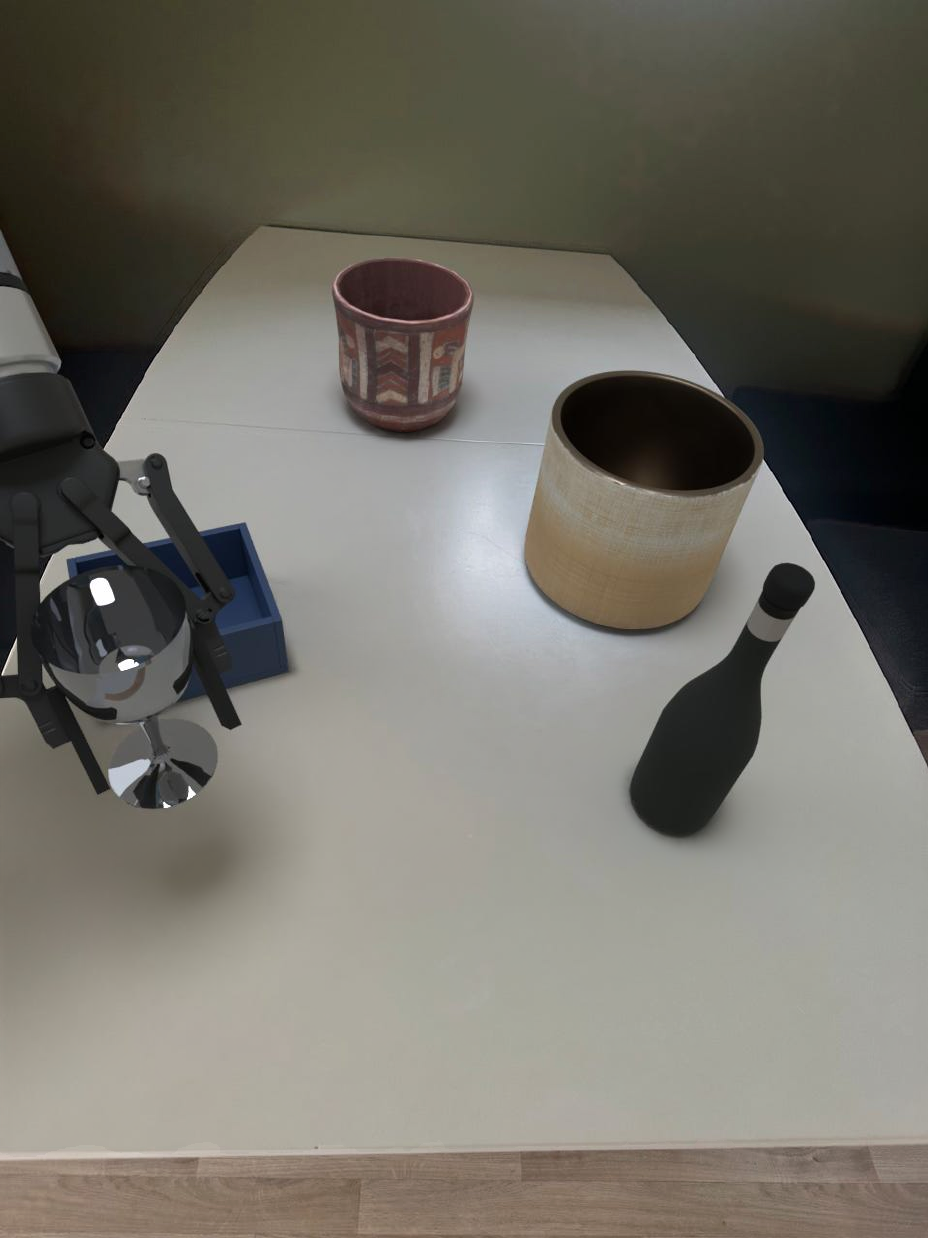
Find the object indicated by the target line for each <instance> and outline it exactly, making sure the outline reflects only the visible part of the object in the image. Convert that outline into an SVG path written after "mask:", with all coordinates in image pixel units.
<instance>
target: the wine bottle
mask: <svg viewBox="0 0 928 1238" xmlns="http://www.w3.org/2000/svg"><path fill="white" fill-rule="evenodd" d="M815 589H816V581H815V578H814V576H813V575H812V573H811V572H810V571H809V570H807V569H806V568H805V567H803V566H801V565H798V564H796V563H791V562H781V563H777V564H775V565H774V566H773V567H772V568H771V569H770V571H768V574H767V576H766V578H765V580H764V582H763V584H762V591H761V593H760V594H759V597H758V598H757V601H756V602H755V605H754V606H753V608H752V610H751V612H750V614H749V616H748V618H747V620H746V623H745V624H744V626H743V627H742V630H741V632H740V634H739V635H738V638H736V639H737V640H736V642H735V643H734V645H733V646H732V648H731V650H730V651H729V653H728V654H727V655H726V656H725V657H724V658H723V659H722V660H721V661H719V662H718V663H717V664H716V665H714V666H712V667H711V668H709V669H707V670H706V671H704V672H702V673H700V674H699V675H697V676H696V677H694V678H693V679H690V680H689V681H688V682H686V683H685V684H684V685H683V686H682V687H681V688H680V689H679V690H678V691H677V692H676V693H675V694H674V695H673V696H672V697H671V699H670V700H669V701H668V702H667V704H666V705H665V706H664V707H663V709H662V711H661V713H660V714H659V717H658V720H657V722H656V723H655V726H654V728H653V730H652V732H651V734H650V736H649V739H648V741H647V743H646V745H645V746H644V749H643V751H642V754H641V755H640V757H639V758H640V759H639V760H638V762H637V764H636V766H635V768H634V772H633V775H632V778H631V782H630V792H631V799H632V801H633V803H634V806H635V807H636V810H637V811H638V813H639V814H640V815H641V816H642V817H643V818H644V819H645V820H646V821H647V822H648V823H649V824H650V825H652V826H654V827H656V828H657V829H659V830H661V831H663V832H666V833H672V834H676V835H681V834H691V833H695V832H696V831H698V830H701V829H702V828H704V827H705V826H707V825H708V823H710V821H711V819H712V818H713V817H714V815H715V814H716V812H717V811H718V810H719V808H720V807H721V806H722V804H723V803H724V801H725V799H726V798H727V796H728V795H729V793H731V790H732V789H733V787H734V786H735V784H736V782H737V781H738V780H739V778H740V777H741V775H742V773H743V772H744V770H745V769H746V767H747V766H748V765H749V763H750V761H751V760H752V758H753V757H754V755H755V752H756V750H757V746H758V743H759V739H760V733H761V727H762V717H763V716H762V714H763V712H762V711H763V710H762V679H763V676H764V674H765V673H764V672H765V670H766V667H767V665H768V663H769V662H770V659H771V658H772V655H773V654H774V653H775V651H776V649H777V648H778V646H779V644H780V642H781V641H782V639H783V638H784V636H785V635H786V633H787V631H788V630H789V628H790V627H791V625H792V622H793V621H794V619H795V618H796V616H797V615H798V613H799V611H800V609H801V608H804V607H805V605H806V604H807V603H808V601H809V600H810V598H811V597H812V595H813V593H814V591H815Z"/></svg>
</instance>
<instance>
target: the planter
mask: <svg viewBox="0 0 928 1238" xmlns="http://www.w3.org/2000/svg"><path fill="white" fill-rule="evenodd" d="M764 455H765V449H764V443H763V439H762V436H761V434H760V432H759V430H758V428H757V426H756V425H755V424H754V422H753V421H752V419H750V418H749V416H748V415H747V414H746V413H745V412H744V411H743V410H742V409H740V407H738V406H737V405H735V404H734V403H733V402H732V401H730V400H729V399H728V398H726V397H724V396H723V395H722V394H721V395H720V394H719V393H718V392H715V391H713V390H712V389H710V388H708V387H706V386H703V385H701V384H698V383H696V382H693V381H691V380H688V379H685V378H682V377H678V376H675V375H670V374H665V373H661V372H655V371H646V370H631V369H630V370H629V369H628V370H627V369H626V370H625V369H624V370H612V371H611V370H610V371H604V372H599V373H595V374H591V375H588V376H585V377H583V378H580V379H578V380H575V381H574V382H573V383H571V384H569V385H568V386H567V387H565V388H564V389H563V390H562V391H561V392H560V393H559V395H557V398H556V399H555V401H554V403H553V406H552V409H551V413H550V418H549V422H548V427H547V433H546V438H545V442H544V447H543V452H542V456H541V462H540V465H539V471H538V476H537V479H536V480H537V481H536V483H535V489H534V494H533V498H532V503H531V507H530V512H529V516H528V521H527V526H526V531H525V536H524V558H525V559H524V560H525V563H526V566H527V569H528V572H529V574H530V575H531V578H532V579H533V581H534V582H535V584H536V586H538V587H539V589H540V590H541V591H542V592H543V593H544V595H546V596H547V597H548V598H549V599H550V600H551V601H553V602H554V603H555V604H556V605H558V606H559V607H561V609H564V610H565V611H567V612H569V613H570V614H573V615H574V616H576V617H579V618H581V619H583V620H585V621H588V622H591V623H593V624H597V625H600V626H605V627H610V628H616V629H622V630H623V629H624V630H645V629H647V630H648V629H653V628H654V629H655V628H658V627H659V628H660V627H663V626H667V625H670V624H672V623H675V622H676V621H679V620H681V619H683V618H684V617H686V616H687V615H689V614H690V613H691V612H692V611H693V610H694V609H696V608H697V606H698V605H699V603H700V602H701V601H702V600H703V598H704V596H705V595H706V593H707V591H708V589H709V587H710V585H711V582H712V580H713V578H714V576H715V574H716V572H717V569H718V566H719V564H720V561H721V560H722V558H723V555H724V552H725V550H726V547H727V545H728V543H729V540H730V538H731V536H732V533H733V531H734V529H735V526H736V524H737V522H738V520H739V517H740V515H741V513H742V510H743V508H744V506H745V503H746V502H747V499H748V497H749V494H750V493H751V490H752V488H753V485H754V483H755V481H756V479H757V476H758V474H759V471H760V470H761V468H762V465H763V461H764V457H765V456H764Z"/></svg>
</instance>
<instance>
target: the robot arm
mask: <svg viewBox="0 0 928 1238" xmlns="http://www.w3.org/2000/svg"><path fill="white" fill-rule="evenodd" d="M61 364H62V360H61V358H60V356H59V354H58V352H57V350H56V347H55V345H54V343H53V341H52V339H51V336H50V334H49V333H48V330H47V328H46V326H45V324H44V322H43V320H42V318H41V316H40V314H39V311H38V309H37V307H36V305H35V303H34V300H33V299H32V296H31V294H30V292H29V290H28V288H27V286H26V284H25V283H24V281H23V278H22V276H21V273H20V271H19V269H18V266H17V264H16V262H15V260H14V258H13V255H12V253H11V251H10V247H9V246H8V244H7V242H6V240H5V237H4V234H3V232H2V229H0V542H1V543H3V544H5V545H6V546H9V547H10V548H12V549H13V563H14V564H13V565H14V589H15V590H14V592H15V593H14V594H15V625H16V627H15V628H16V656H17V657H16V658H17V659H16V660H17V661H16V662H17V663H16V664H17V673H15V674H5V675H3V674H2V671H0V699H1V700H2V699H11V698H12V699H18V700H21V701H22V702H24V704H25V705H26V706H27V708H28V710H29V712H30V714H31V716H32V718H33V720H34V722H35V724H36V726H37V728H38V730H39V732H40V734H41V736H42V738H43V740H44V743H45V744H46V745H47V746H49V747H50V748H51V749H53V750H54V749H57V748H59V747H61V746H64V745H66V744H68V743H71V745H72V747H73V749H74V751H75V753H76V755H77V757H78V759H79V761H80V764H81V765H82V767H83V769H84V771H85V773H86V775H87V777H88V779H89V781H90V783H91V785H92V787H93V790H94V791H95V793H96V796H99V795H102V794H104V793H106V792H107V791H109V790H111V786H110V784H109V783H108V782H109V781H107V780H108V779H107V778H106V777H105V775H104V772H103V770H102V768H101V766H100V764H99V762H98V759H96V756H95V754H94V752H93V749H92V747H91V746H90V744H89V742H88V740H87V737H86V736H85V734H84V732H83V729H82V727H81V726H80V723H79V721H78V719H77V717H76V715H75V713H74V711H73V709H72V708H71V705H70V703H69V700H68V699H67V698H66V697H65V696H64V695H63V693H62V692H61V691H60V690H59V689H58V687H57V686H56V685H55V684H54V685H52V686H51V687H48V688H47V687H46V686H45V683H44V677H43V674H44V673H43V672H44V671H43V664H42V662H41V661H40V659H39V656H38V654H37V652H36V650H35V648H34V645H33V642H32V638H31V623H32V619H33V616H34V614H35V612H36V610H37V608H38V606H39V605H40V604H41V577H40V576H41V575H40V573H41V572H40V558H43V559H44V558H46V557H49V556H50V557H51V556H52V555H55V554H57V553H59V552H60V551H62V550H63V549H64V548H67V547H68V546H72V545H73V546H74V545H84V544H87V543H89V542H93V541H95V540H97V539H98V540H99V541H100V542H101V543H102V544H103V545H104V546H106V547H107V548H108V549H109V550H112V551H114V552H115V553H116V554H117V555H118V556H119V557H120V558H121V559H122V560H123V561H124V562H125V563H126V564H127V565H131V566H140V567H145V568H150V569H152V570H155V571H158V572H160V573H162V574H164V575H165V576H167V577H169V578H170V579H171V580H172V581H173V582H175V583H176V584H177V586H178V587H179V588H180V590H181V591H182V594H183V596H184V598H185V601H186V604H187V608H188V611H189V615H190V621H191V626H192V632H193V645H194V654H193V665H194V667H195V669H196V671H197V674H198V676H199V678H200V680H201V682H202V684H203V687H204V689H205V691H206V693H207V694H206V695H207V697H208V699H209V700H208V701H209V702H210V704H211V706H212V709H213V711H214V713H215V715H216V717H217V719H218V722H219V724H220V726H221V727H223V728H225V729H227V730H229V731H232V730H234V729H237V728H238V727H240V726H242V725H243V723H242V721H241V719H240V716H239V714H238V713H237V711H236V708H235V705H234V704H233V702H232V700H231V697H230V695H229V692H228V691H227V689H226V688H225V686H224V684H223V682H222V679H221V677H220V675H219V674H220V673H222V672H224V671H227V670H229V669H231V668H232V660H231V657H230V655H229V653H228V651H227V648H226V646H225V644H224V642H223V639H222V637H221V635H220V633H219V630H218V628H217V626H216V623H215V618H216V615H217V613H218V612H219V611H220V610H221V609H222V608H223V607H224V606H225V605H226V604H227V603H228V602H231V601H232V600H233V599H234V597H235V591H234V588H233V587H232V585H231V583H230V582H229V580H228V579H227V577H226V575H225V574H224V572H223V570H222V569H221V567H220V566H219V564H218V562H217V561H216V559H215V557H214V556H213V554H212V553H211V551H210V549H209V548H208V546H207V545H206V543H205V541H204V540H203V538H202V536H201V535H200V533H199V532H200V531H199V530H198V528H197V527H196V525H195V523H194V522H193V520H192V519H191V517H190V515H189V514H188V512H187V510H186V508H185V507H184V505H183V503H182V502H181V501H180V498H178V496H177V495H176V493H175V491H174V489H173V484H172V481H171V474H170V471H169V465H168V461H167V459H166V457H165V456H164V455H163V454H160V453H158V452H153V453H150V454H149V455H147V457H146V458H140V459H129V460H128V459H127V460H116V459H115V458H114V457H113V456H112V455H110V454H109V453H108V452H106V451H105V449H104V448H103V447H102V445H100V443H99V441H98V439H97V436H96V435H95V433H94V431H93V428H92V427H91V424H90V421H89V420H88V418H87V415H86V413H85V411H84V409H83V407H82V405H81V402H80V400H79V398H78V395H77V394H76V391H75V389H74V387H73V385H72V382H71V381H70V380H69V379H68V378H66V377H64V376H63V375H62V374H59V373H58V372H59V371H60V369H61ZM121 481H123V482H126V483H127V484H129V485H130V487H131V489H132V490H133V492H134V493H135V494H136V495H138V496H141V497H146V499H147V501H148V504H149V506H150V508H151V510H152V511H153V514H154V515H155V517H156V518H157V520H158V522H160V524H161V526H162V528H163V529H164V531H165V532H166V534H167V535H168V538H170V539H171V540H172V542H173V543H174V545H175V546H176V548H177V550H178V551H179V553H180V554H181V556H182V558H183V559H184V561H185V562H186V564H187V566H188V567H189V569H190V570H191V572H192V574H193V575H194V577H195V578H196V580H197V582H198V583H199V585H200V586H201V588H202V589H203V591H204V593H205V595H204V596H202V597H201V598H199V597H198V596H197V595H196V594H195V593H194V592H193V591H192V590H191V589H190V588H188V587H187V586H186V585H185V584H184V583H183V582H182V581H181V580H180V579H179V578H178V577H177V576H176V575H175V574H174V573H173V572H172V571H171V570H170V569H169V568H168V567H167V566H166V565H165V564H164V563H163V562H162V561H161V560H160V559H159V558H158V557H156V556H155V555H154V554H153V553H152V552H151V551H150V550H149V549H148V548H147V547H146V546H145V545H144V544H143V543H144V542H142V541H141V540H140V539H139V538H138V537H137V536H136V535H135V534H134V533H133V531H132V530H131V529H130V527H129V526H127V524H125V523H124V521H122V520H121V519H120V517H118V516H117V515H116V513H114V512H113V511H112V510H113V506H114V503H115V498H116V495H117V491H118V487H119V482H121Z"/></svg>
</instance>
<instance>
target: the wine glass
mask: <svg viewBox="0 0 928 1238" xmlns="http://www.w3.org/2000/svg"><path fill="white" fill-rule="evenodd" d="M31 638H32V642H33V645H34V648H35V650H36V652H37V654H38V656H39V659H40V661H41V662H42V667H43V668H44V669H45V671H46V673H47V674H48V676H49V678H50V680H51V681H52V683H53V684H54V686H55V685H56V686H57V687H58V689H59V690H60V691H61V692H62V693H63V695H64V696H65V697H66V699H67V701H68V702H70V703H71V704H72V705H73V706H75V707H76V708H77V709H78V710H79V711H80V712H82V713H84V714H85V715H86V716H88V717H90V718H91V719H94V720H96V721H99V722H101V723H106V724H110V725H122V726H123V725H124V726H125V725H135V724H138V725H139V727H138V728H136V729H134V730H132V731H131V732H130V733H129V734H127V735H126V736H125V737H124V738H123V739H122V740H121V741H120V743H119V744H117V746H116V748H115V750H114V751H113V753H112V754H111V758H110V760H109V763H108V770H107V775H108V776H107V777H108V782H109V786H110V788H111V789H112V791H113V793H114V794H115V795H116V796H117V798H119V800H120V801H123V802H124V803H125V804H126V805H129V806H131V807H134V808H137V809H141V810H150V811H155V810H157V811H158V810H165V809H170V808H174V807H177V806H179V805H181V804H184V803H185V802H187V801H189V800H191V799H193V798H194V797H196V796H197V795H198V794H199V793H200V792H201V791H203V789H204V788H205V787H206V786H208V784H209V783H210V781H211V780H212V778H213V776H214V774H215V772H216V770H217V765H218V762H219V752H218V746H217V744H216V740H215V738H214V737H213V736H212V734H211V733H210V732H209V731H208V730H206V729H205V727H203V726H201V725H200V724H198V723H196V722H193V721H191V720H187V719H183V718H163V719H159V716H160V715H162V714H164V713H165V712H167V711H169V709H171V707H172V706H173V705H174V704H176V703H177V702H176V701H177V700H178V699H179V698H180V697H181V695H182V694H183V693H184V691H185V689H186V687H187V685H188V682H189V678H190V675H191V672H192V664H193V654H194V645H193V632H192V626H191V621H190V615H189V611H188V608H187V604H186V601H185V598H184V596H183V594H182V591H181V590H180V588H179V587H178V586H177V584H176V583H175V582H173V581H172V580H171V579H170V578H169V577H167V576H165V575H164V574H162V573H160V572H158V571H155V570H152V569H150V568H145V567H140V566H131V565H116V566H108V567H101V568H97V569H93V570H90V571H87V572H84V573H82V574H79V575H76V576H74V577H72V578H71V579H69V578H68V579H67V580H65V581H63V582H62V583H61V584H59V585H58V586H56V587H55V588H53V589H52V590H51V591H50V592H49V593H48V594H47V595H45V597H44V598H43V599H42V601H40V605H39V606H38V608H37V610H36V612H35V614H34V616H33V619H32V623H31Z"/></svg>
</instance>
